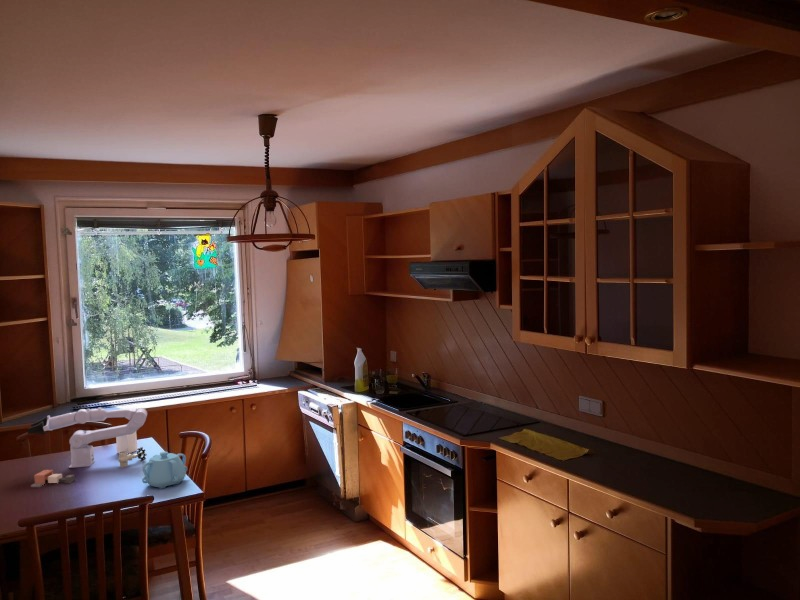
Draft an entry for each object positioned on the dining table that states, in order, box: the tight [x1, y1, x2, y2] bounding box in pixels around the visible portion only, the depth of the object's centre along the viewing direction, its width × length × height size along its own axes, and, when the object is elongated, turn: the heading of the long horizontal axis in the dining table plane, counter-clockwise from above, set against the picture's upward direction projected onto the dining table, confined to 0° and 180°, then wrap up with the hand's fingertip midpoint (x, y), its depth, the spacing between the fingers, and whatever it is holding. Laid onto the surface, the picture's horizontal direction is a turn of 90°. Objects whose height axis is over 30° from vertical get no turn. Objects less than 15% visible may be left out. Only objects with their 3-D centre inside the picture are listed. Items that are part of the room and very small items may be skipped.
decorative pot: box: [141, 451, 188, 489], centre depth 280 cm, size 16×16×14 cm
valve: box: [118, 446, 147, 468], centre depth 311 cm, size 7×7×12 cm
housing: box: [30, 469, 54, 488], centre depth 289 cm, size 4×13×4 cm, turn 175°
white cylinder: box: [115, 431, 138, 454], centre depth 330 cm, size 10×12×12 cm
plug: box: [47, 473, 76, 484], centre depth 288 cm, size 10×4×3 cm, turn 85°
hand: (29, 429), depth 305 cm, fingers open, 7 cm apart
